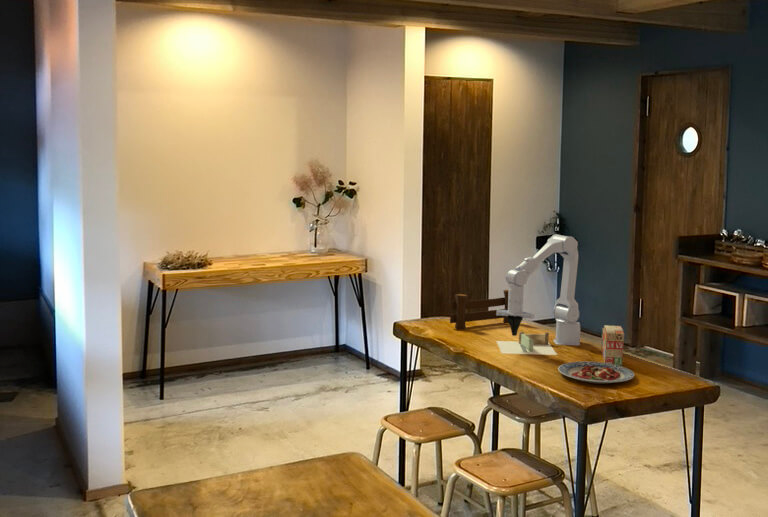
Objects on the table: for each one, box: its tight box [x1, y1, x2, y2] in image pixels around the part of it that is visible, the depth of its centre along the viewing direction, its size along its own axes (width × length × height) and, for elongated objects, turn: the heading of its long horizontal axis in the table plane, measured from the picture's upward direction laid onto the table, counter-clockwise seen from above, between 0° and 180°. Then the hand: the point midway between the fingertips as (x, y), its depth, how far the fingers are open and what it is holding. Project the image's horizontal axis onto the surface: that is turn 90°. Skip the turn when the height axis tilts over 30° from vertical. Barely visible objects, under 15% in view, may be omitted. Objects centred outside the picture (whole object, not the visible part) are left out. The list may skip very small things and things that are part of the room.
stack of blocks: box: [600, 324, 625, 366], centre depth 324 cm, size 21×6×12 cm, turn 170°
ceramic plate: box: [557, 361, 635, 385], centre depth 299 cm, size 26×26×3 cm
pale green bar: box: [521, 333, 533, 351], centre depth 335 cm, size 12×2×5 cm, turn 8°
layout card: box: [495, 340, 558, 356], centre depth 336 cm, size 21×20×1 cm
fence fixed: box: [518, 331, 550, 345], centre depth 342 cm, size 12×2×5 cm, turn 89°
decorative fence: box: [449, 289, 509, 331], centre depth 375 cm, size 34×6×15 cm, turn 121°
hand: (514, 335), depth 334 cm, fingers closed
